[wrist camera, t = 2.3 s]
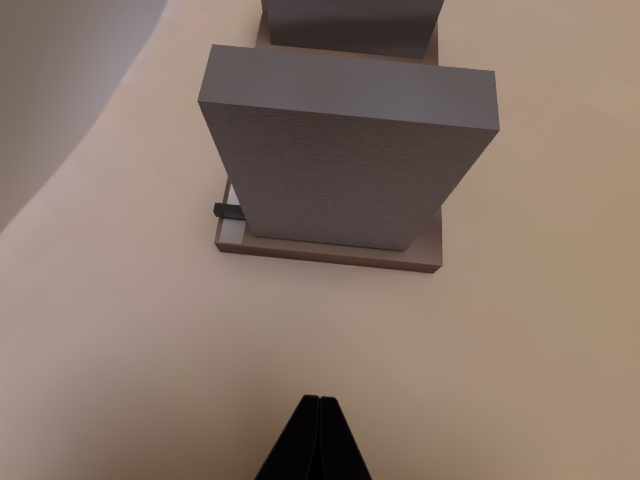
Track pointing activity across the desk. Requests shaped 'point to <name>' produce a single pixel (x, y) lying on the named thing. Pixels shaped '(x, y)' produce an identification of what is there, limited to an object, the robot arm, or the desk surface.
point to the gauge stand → (355, 42)
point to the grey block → (343, 141)
